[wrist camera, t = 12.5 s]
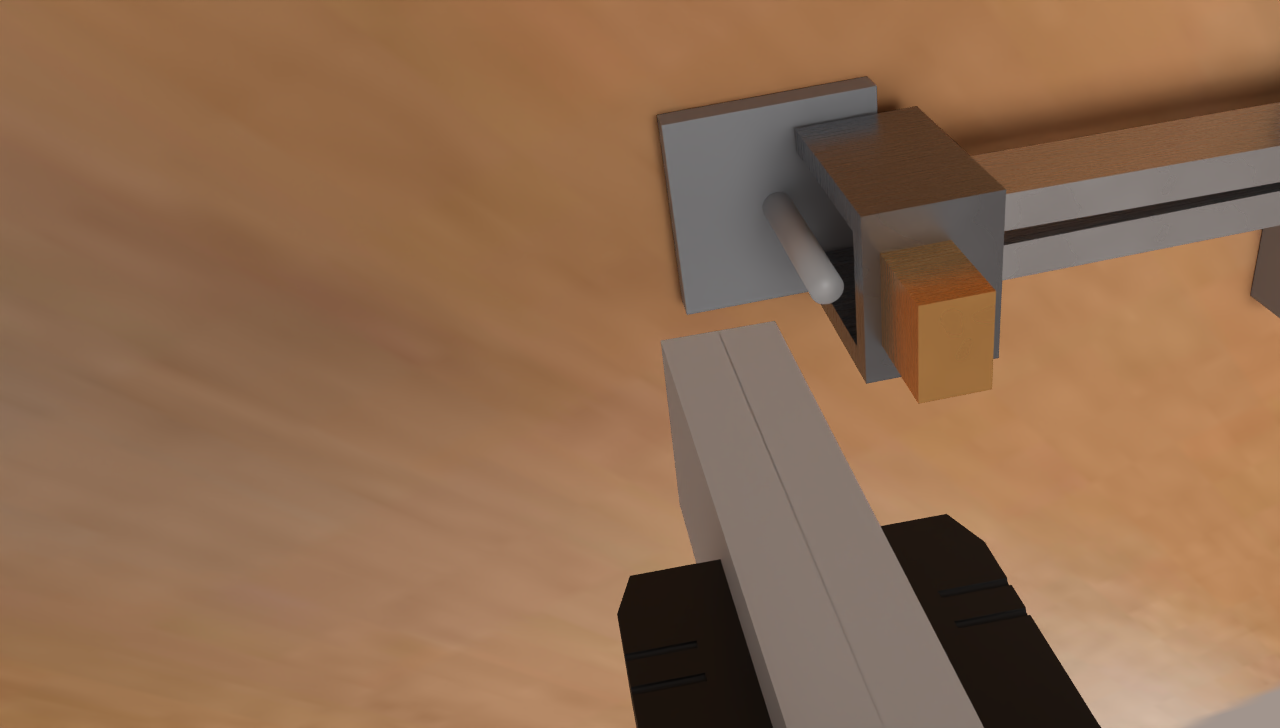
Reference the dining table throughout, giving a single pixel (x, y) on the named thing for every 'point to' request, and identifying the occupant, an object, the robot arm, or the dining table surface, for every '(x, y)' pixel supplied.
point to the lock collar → (912, 251)
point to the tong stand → (782, 200)
